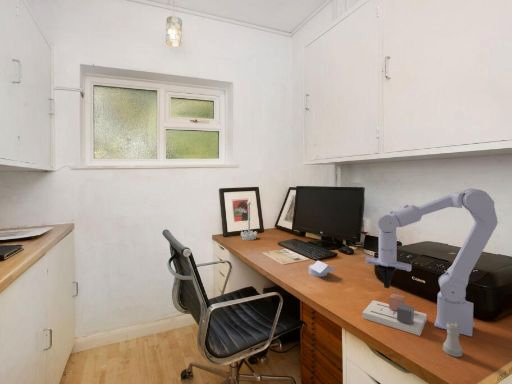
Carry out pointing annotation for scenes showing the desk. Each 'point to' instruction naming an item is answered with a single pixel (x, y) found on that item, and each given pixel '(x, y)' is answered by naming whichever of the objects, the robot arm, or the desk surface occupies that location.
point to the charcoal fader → (405, 313)
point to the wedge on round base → (319, 269)
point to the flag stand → (250, 234)
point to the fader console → (393, 318)
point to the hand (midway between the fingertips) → (387, 287)
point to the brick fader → (396, 301)
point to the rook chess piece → (452, 340)
